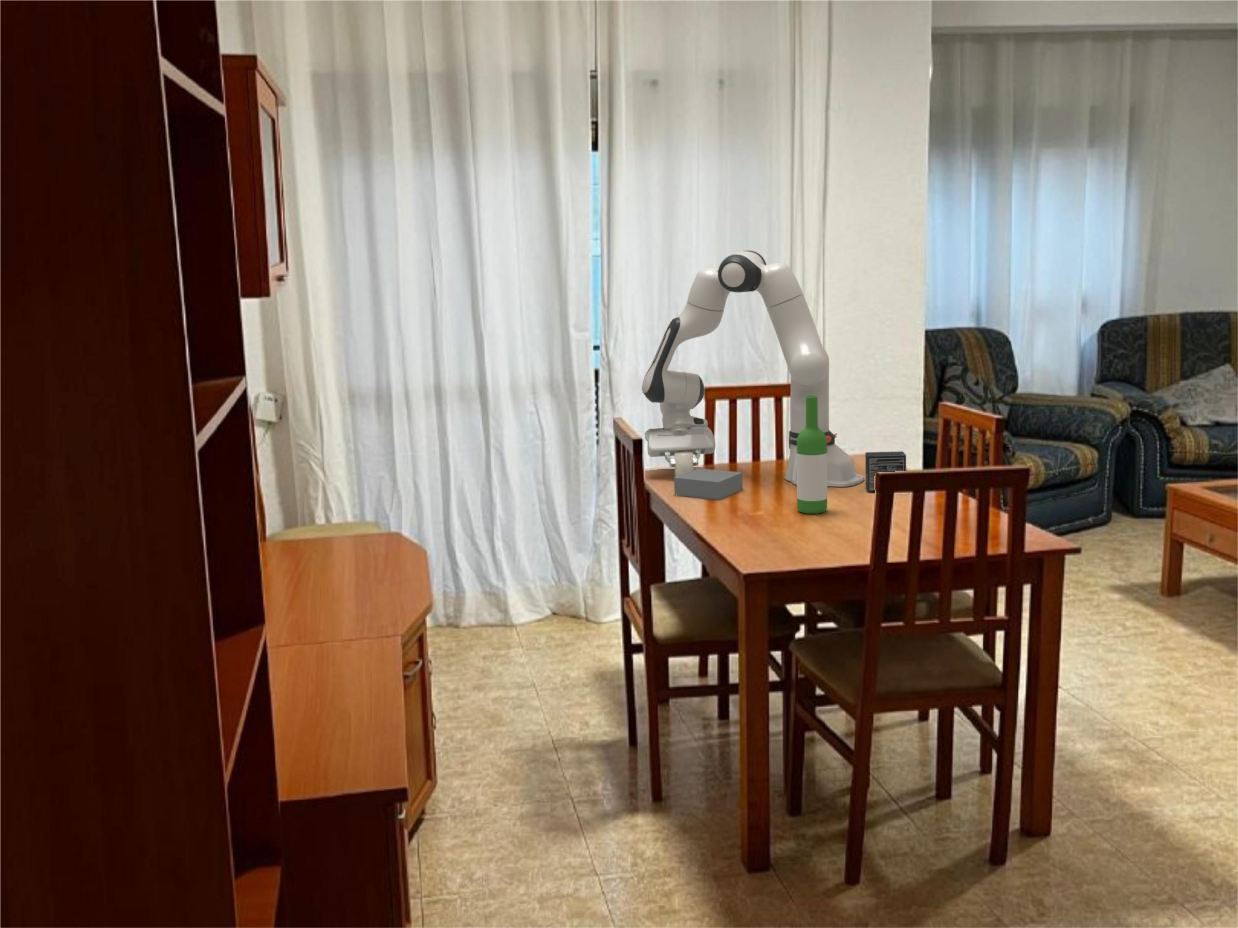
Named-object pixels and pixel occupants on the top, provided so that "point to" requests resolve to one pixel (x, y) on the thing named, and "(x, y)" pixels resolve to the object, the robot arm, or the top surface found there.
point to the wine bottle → (811, 463)
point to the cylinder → (683, 462)
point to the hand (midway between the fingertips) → (684, 465)
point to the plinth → (708, 484)
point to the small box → (882, 465)
